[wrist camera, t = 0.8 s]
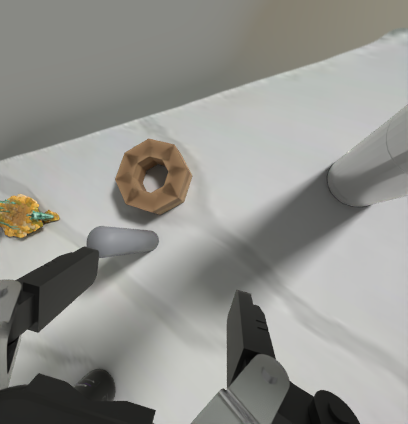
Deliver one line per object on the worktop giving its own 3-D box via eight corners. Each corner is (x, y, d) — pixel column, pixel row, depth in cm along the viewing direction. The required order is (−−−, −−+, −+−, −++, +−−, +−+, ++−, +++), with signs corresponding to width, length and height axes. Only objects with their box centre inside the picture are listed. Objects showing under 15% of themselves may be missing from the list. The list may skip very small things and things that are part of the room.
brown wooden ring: (172, 138, 41) (165, 128, 37) (201, 192, 38) (196, 187, 35) (120, 169, 42) (107, 162, 38) (144, 223, 40) (133, 222, 36)
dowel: (153, 227, 39) (108, 220, 25) (161, 245, 38) (119, 248, 25) (136, 236, 39) (82, 235, 26) (144, 254, 39) (92, 263, 25)
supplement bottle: (100, 359, 37) (37, 413, 26) (124, 388, 36) (68, 460, 24) (76, 386, 38) (3, 454, 26) (99, 417, 36) (33, 503, 24)
